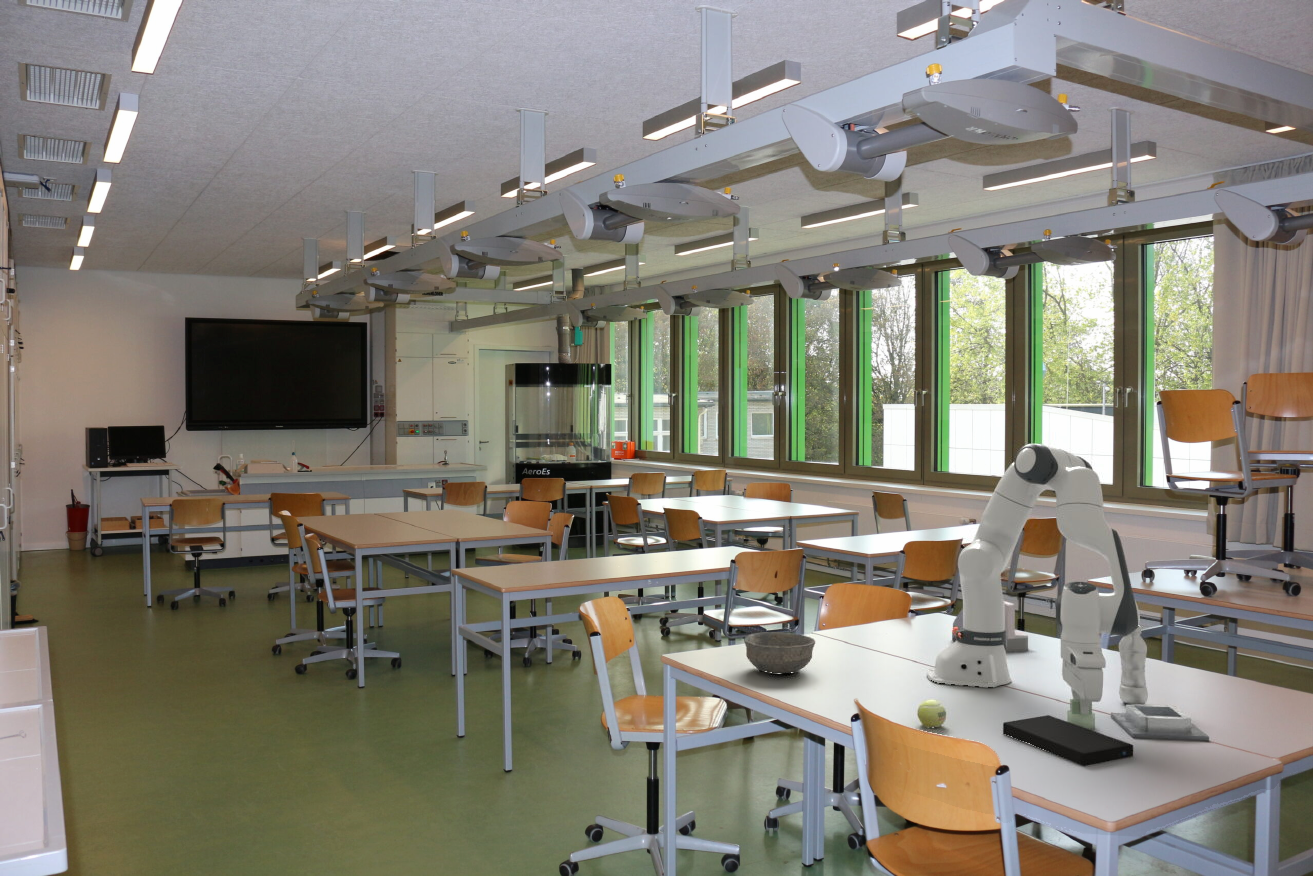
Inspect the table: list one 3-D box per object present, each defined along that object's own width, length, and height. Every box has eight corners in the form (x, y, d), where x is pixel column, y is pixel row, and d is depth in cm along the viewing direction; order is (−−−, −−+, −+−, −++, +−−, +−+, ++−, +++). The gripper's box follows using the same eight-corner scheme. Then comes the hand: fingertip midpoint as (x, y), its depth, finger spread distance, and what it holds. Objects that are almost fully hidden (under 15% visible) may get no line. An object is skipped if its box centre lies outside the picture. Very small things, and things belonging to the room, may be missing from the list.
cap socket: (1133, 737, 215) (1132, 720, 215) (1110, 716, 231) (1110, 700, 231) (1209, 741, 213) (1208, 723, 213) (1181, 719, 228) (1181, 703, 228)
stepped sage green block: (1071, 729, 222) (1071, 703, 222) (1064, 721, 228) (1064, 696, 228) (1098, 730, 221) (1098, 704, 221) (1090, 722, 227) (1090, 697, 227)
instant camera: (1032, 653, 298) (1032, 605, 298) (967, 653, 298) (967, 606, 298) (1007, 638, 320) (1007, 593, 320) (946, 638, 320) (946, 594, 319)
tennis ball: (936, 703, 221) (948, 696, 226) (910, 702, 225) (922, 696, 230) (940, 731, 220) (952, 724, 225) (914, 729, 224) (926, 722, 229)
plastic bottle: (1137, 709, 237) (1136, 629, 237) (1113, 702, 243) (1112, 624, 243) (1153, 705, 240) (1153, 627, 240) (1129, 699, 246) (1129, 622, 246)
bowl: (830, 674, 273) (830, 639, 273) (779, 686, 261) (779, 650, 261) (780, 660, 290) (779, 628, 290) (729, 671, 277) (729, 637, 277)
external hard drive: (1049, 727, 224) (1049, 715, 224) (1133, 758, 203) (1133, 744, 203) (1003, 735, 219) (1003, 722, 219) (1084, 768, 197) (1084, 753, 197)
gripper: (1055, 641, 235) (1055, 697, 235) (1078, 661, 215) (1078, 722, 215) (1082, 642, 234) (1082, 698, 234) (1108, 662, 214) (1108, 723, 214)
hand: (1081, 710), depth 225 cm, fingers open, 4 cm apart
